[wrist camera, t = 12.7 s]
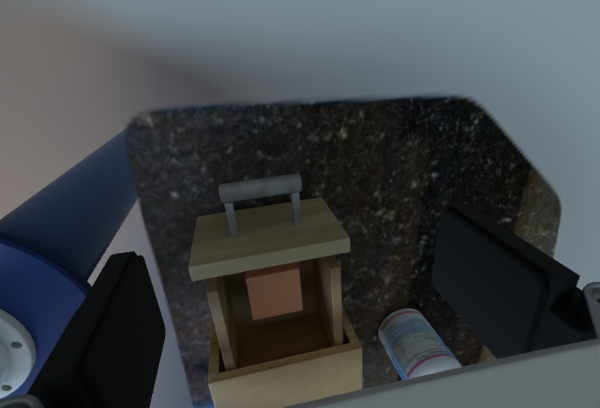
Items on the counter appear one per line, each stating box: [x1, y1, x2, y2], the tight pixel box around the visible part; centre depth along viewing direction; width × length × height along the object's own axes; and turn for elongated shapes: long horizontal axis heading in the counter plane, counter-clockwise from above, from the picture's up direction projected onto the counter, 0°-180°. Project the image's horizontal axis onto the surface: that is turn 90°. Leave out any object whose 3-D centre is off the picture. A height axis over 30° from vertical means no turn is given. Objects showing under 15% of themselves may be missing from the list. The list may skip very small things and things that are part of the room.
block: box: [245, 262, 303, 320], centre depth 29 cm, size 4×4×4 cm
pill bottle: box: [379, 308, 462, 380], centre depth 36 cm, size 6×6×11 cm
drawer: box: [188, 173, 350, 371], centre depth 28 cm, size 18×11×8 cm, turn 4°
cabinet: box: [208, 306, 362, 408], centre depth 34 cm, size 15×13×10 cm
